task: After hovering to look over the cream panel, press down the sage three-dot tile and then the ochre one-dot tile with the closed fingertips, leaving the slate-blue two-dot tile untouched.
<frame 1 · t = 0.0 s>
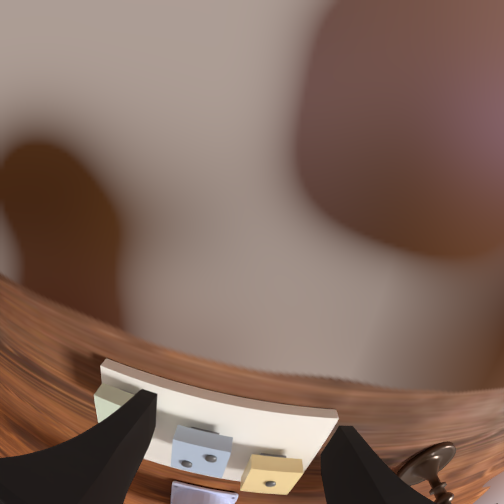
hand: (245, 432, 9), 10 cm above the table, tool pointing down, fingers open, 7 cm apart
tile three: (124, 417, 18), point 3 cm above the table, slide at 0.0 cm
tile two: (200, 454, 18), point 3 cm above the table, slide at 0.0 cm
candlestick: (425, 462, 24), on the table
tile one: (270, 477, 19), point 3 cm above the table, slide at 0.0 cm
panel: (209, 436, 22), on the table
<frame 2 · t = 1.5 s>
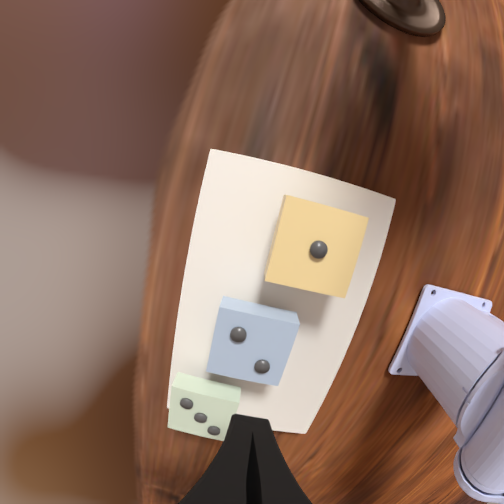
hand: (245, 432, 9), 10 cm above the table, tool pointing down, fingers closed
tile three: (202, 410, 17), point 3 cm above the table, slide at 0.0 cm
tile two: (251, 343, 16), point 3 cm above the table, slide at 0.0 cm
tile one: (315, 246, 15), point 3 cm above the table, slide at 0.0 cm
panel: (268, 317, 19), on the table
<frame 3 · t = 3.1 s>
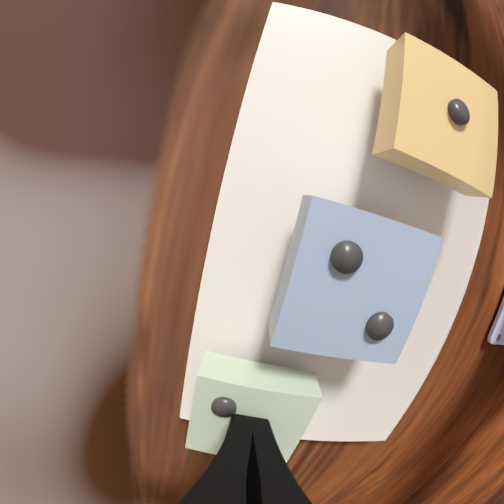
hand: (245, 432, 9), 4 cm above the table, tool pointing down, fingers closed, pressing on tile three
tile three: (248, 416, 10), point 3 cm above the table, slide at 0.3 cm, touching gripper
tile two: (356, 284, 8), point 3 cm above the table, slide at 0.0 cm
tile one: (445, 116, 7), point 3 cm above the table, slide at 0.0 cm
panel: (356, 254, 12), on the table
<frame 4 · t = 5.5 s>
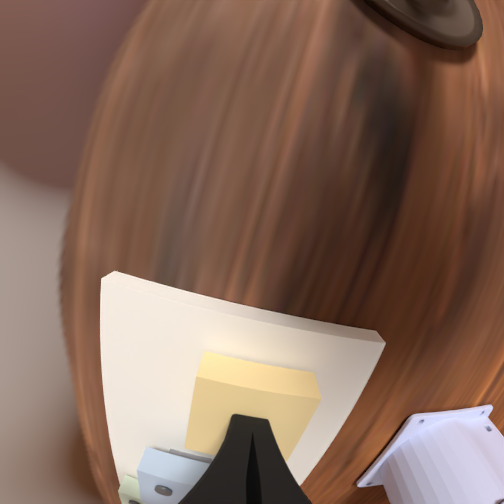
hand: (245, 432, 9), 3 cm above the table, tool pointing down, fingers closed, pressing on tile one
tile two: (183, 490, 10), point 3 cm above the table, slide at 0.0 cm
tile one: (247, 417, 10), point 2 cm above the table, slide at 0.9 cm, touching gripper
panel: (210, 449, 14), on the table
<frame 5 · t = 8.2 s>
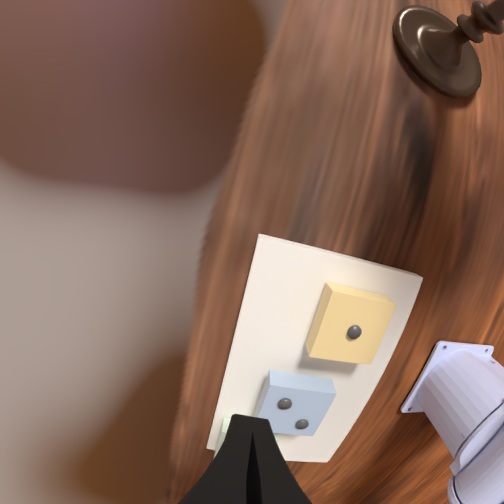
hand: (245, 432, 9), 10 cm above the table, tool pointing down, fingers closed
tile three: (244, 445, 19), point 2 cm above the table, slide at 0.9 cm
tile two: (292, 406, 17), point 3 cm above the table, slide at 0.0 cm
candlestick: (437, 51, 15), on the table
tile one: (350, 326, 17), point 2 cm above the table, slide at 0.9 cm
panel: (303, 376, 20), on the table
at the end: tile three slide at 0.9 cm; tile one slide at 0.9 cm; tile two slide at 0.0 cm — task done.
